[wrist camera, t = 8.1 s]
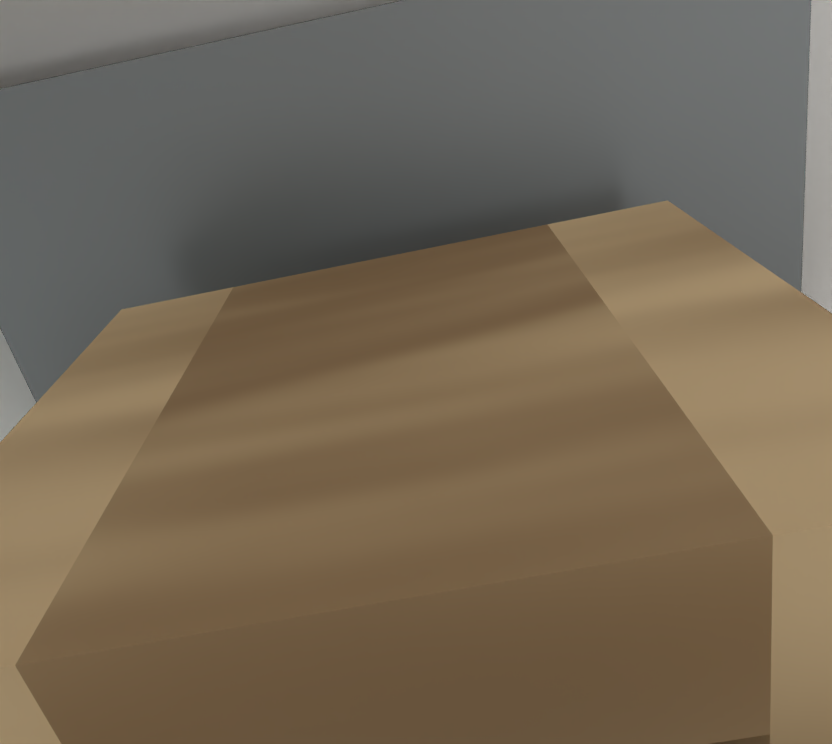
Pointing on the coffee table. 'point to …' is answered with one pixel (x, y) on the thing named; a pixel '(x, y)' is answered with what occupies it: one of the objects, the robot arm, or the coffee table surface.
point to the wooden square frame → (435, 505)
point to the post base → (390, 148)
